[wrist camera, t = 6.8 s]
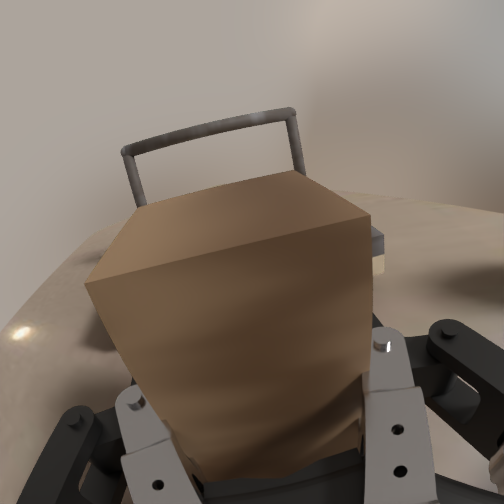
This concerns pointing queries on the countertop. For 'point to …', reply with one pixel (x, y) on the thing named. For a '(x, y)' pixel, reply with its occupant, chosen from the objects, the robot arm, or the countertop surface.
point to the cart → (229, 125)
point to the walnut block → (245, 320)
